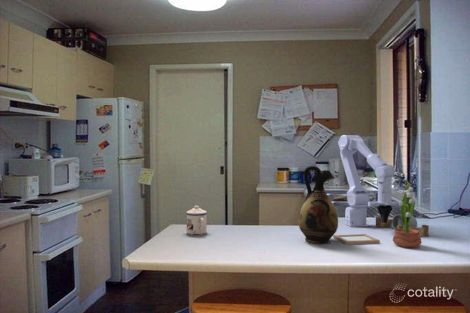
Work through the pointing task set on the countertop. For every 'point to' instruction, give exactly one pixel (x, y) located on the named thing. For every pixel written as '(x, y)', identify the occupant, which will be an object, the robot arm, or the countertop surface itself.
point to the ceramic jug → (318, 209)
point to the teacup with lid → (196, 221)
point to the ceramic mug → (398, 221)
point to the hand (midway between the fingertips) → (384, 222)
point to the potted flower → (407, 222)
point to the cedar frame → (422, 230)
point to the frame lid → (356, 239)
